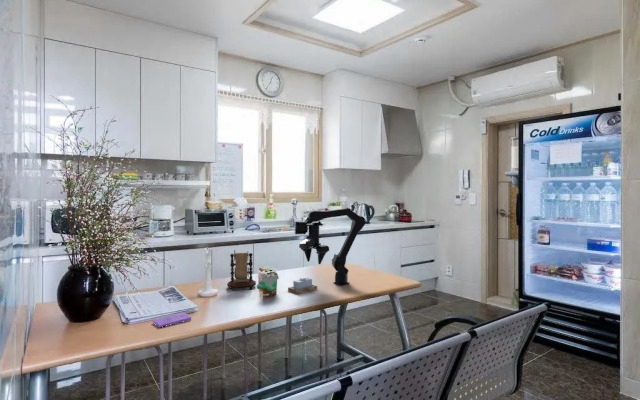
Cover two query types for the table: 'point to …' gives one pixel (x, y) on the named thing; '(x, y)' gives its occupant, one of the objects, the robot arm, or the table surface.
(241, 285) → the scroll
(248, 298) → the table surface
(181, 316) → the purple flat block
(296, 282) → the key block
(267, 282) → the food container
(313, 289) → the tan picture frame
